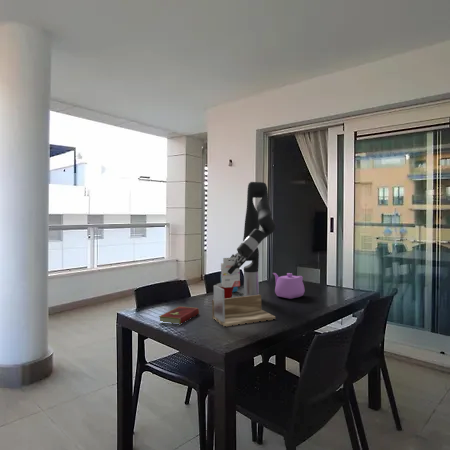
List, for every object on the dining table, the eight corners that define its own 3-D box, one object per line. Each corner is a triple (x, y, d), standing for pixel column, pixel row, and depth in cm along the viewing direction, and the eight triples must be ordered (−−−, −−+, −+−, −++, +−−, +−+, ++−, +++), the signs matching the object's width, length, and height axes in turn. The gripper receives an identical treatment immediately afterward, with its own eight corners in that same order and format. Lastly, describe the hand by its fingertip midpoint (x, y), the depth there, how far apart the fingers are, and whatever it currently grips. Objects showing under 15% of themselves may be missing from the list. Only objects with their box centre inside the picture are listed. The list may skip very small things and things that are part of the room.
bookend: (214, 316, 185) (213, 285, 185) (215, 316, 186) (215, 285, 185) (222, 322, 174) (222, 289, 174) (224, 322, 174) (224, 289, 174)
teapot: (312, 295, 235) (312, 272, 234) (291, 301, 221) (290, 276, 221) (285, 290, 252) (285, 269, 252) (264, 295, 239) (263, 272, 239)
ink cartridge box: (237, 284, 185) (236, 256, 185) (240, 286, 181) (239, 257, 180) (221, 286, 183) (220, 257, 183) (223, 287, 178) (223, 258, 178)
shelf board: (212, 318, 187) (212, 300, 187) (260, 311, 198) (260, 294, 197) (224, 326, 172) (223, 307, 172) (275, 319, 183) (275, 300, 183)
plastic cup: (233, 306, 211) (232, 286, 210) (215, 305, 213) (214, 285, 212) (236, 302, 221) (236, 282, 221) (219, 301, 223) (218, 282, 223)
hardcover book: (199, 315, 195) (198, 307, 195) (180, 326, 176) (180, 318, 175) (179, 313, 199) (179, 305, 199) (158, 324, 180) (158, 315, 180)
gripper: (237, 241, 191) (216, 265, 187) (249, 243, 178) (227, 269, 173) (246, 250, 193) (226, 275, 189) (259, 253, 180) (237, 279, 175)
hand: (226, 272), depth 181 cm, fingers closed on ink cartridge box, 5 cm apart
